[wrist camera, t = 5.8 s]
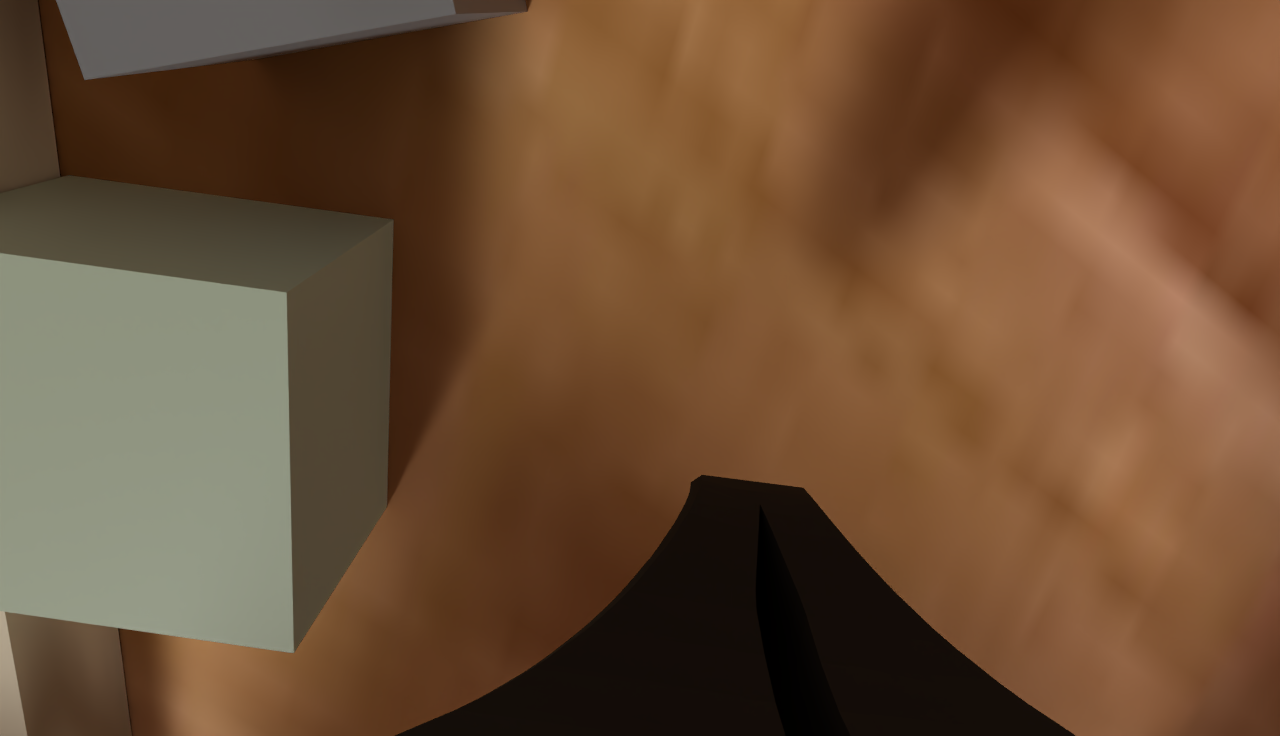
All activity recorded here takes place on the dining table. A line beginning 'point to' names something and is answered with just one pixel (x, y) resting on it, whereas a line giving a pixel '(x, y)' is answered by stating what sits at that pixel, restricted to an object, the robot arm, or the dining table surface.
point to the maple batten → (16, 643)
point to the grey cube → (244, 28)
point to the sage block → (188, 407)
